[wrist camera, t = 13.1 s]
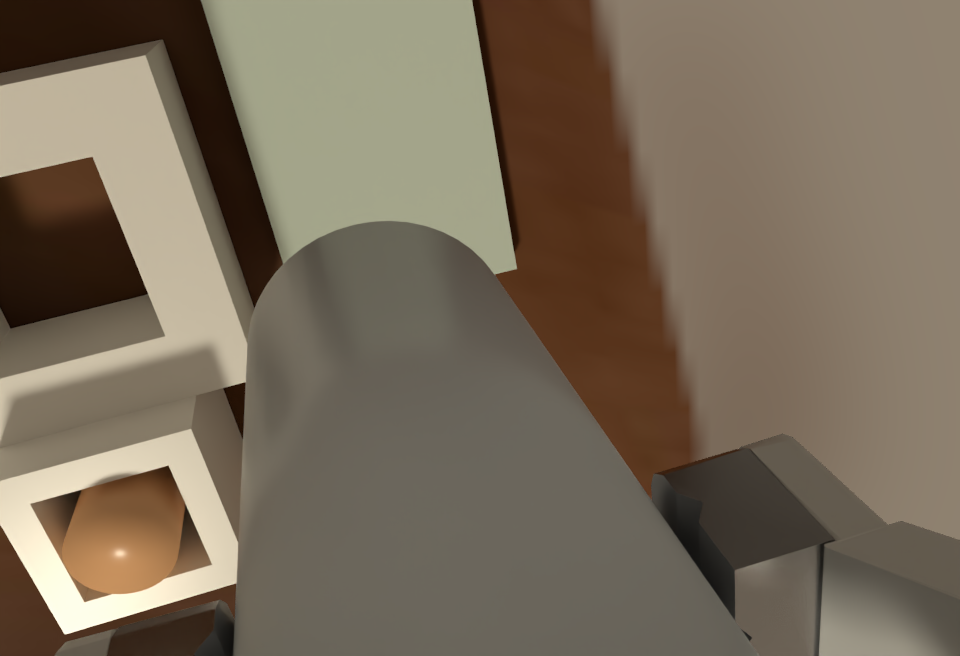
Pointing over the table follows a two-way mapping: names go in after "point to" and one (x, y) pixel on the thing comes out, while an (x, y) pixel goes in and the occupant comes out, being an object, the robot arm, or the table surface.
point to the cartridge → (439, 476)
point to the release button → (125, 533)
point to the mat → (365, 117)
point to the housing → (125, 334)
